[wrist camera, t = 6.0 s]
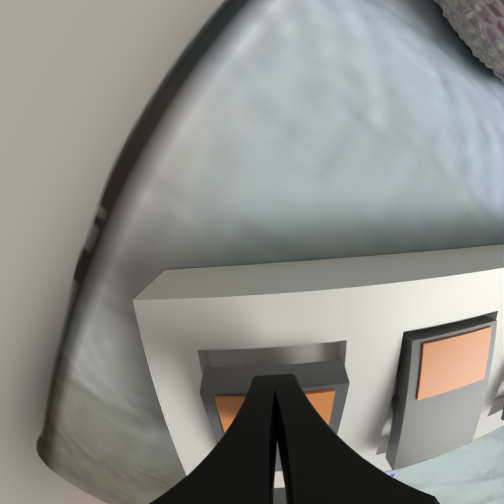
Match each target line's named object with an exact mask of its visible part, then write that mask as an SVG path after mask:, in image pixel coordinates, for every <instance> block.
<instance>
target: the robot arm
mask: <svg viewBox="0 0 504 504" xmlns="http://www.w3.org/2000/svg"><path fill="white" fill-rule="evenodd" d="M277 443H278V449H279V455H280V461H281V467H282V473H283V479H284V485H285V491H286V499H287V504H440V503H439V502H438V500H437V499H436V498H435V497H434V496H432V495H429V494H427V493H424V492H422V491H419V490H417V489H415V488H412V487H410V486H408V485H406V484H404V483H402V482H400V481H398V480H397V479H395V478H396V476H397V473H398V471H399V469H397V470H392V469H391V470H388V471H384V472H383V471H382V470H380V469H379V468H377V467H376V466H374V465H373V464H371V463H370V462H368V461H367V460H365V459H364V458H363V457H362V456H360V455H359V454H358V453H357V452H355V451H354V450H353V449H352V448H351V447H350V446H349V445H347V444H346V443H345V442H344V441H343V440H342V439H341V438H340V437H339V436H338V435H337V434H336V433H335V432H334V431H333V430H332V429H331V428H330V426H329V425H328V424H327V423H326V422H325V421H324V419H323V418H322V417H321V416H320V415H319V413H318V412H317V411H316V409H315V408H314V407H313V405H312V404H311V402H310V401H309V400H308V398H307V396H306V395H305V393H304V392H303V390H302V388H301V387H300V385H299V383H298V381H297V378H296V376H295V375H294V374H279V375H264V376H255V377H254V378H253V379H252V382H251V385H250V388H249V391H248V393H247V395H246V397H245V400H244V402H243V404H242V406H241V407H240V409H239V411H238V413H237V415H236V417H235V418H234V420H233V421H232V423H231V424H230V426H229V428H228V429H227V431H226V432H225V434H224V435H223V436H222V438H221V439H220V440H219V442H218V443H217V444H216V446H215V447H214V448H213V449H212V450H211V452H210V453H209V454H208V455H207V456H206V457H205V458H204V459H203V460H202V461H201V462H200V464H199V465H198V466H197V467H196V468H195V469H194V470H193V471H191V472H190V473H189V474H188V475H187V476H186V477H185V478H184V479H183V480H181V481H180V482H179V483H177V484H176V485H175V486H174V487H172V488H171V489H170V490H168V491H167V492H166V493H164V494H163V495H162V496H160V497H159V498H157V499H156V500H154V501H153V502H151V503H149V504H273V493H274V480H275V466H276V452H277Z"/></svg>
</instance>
